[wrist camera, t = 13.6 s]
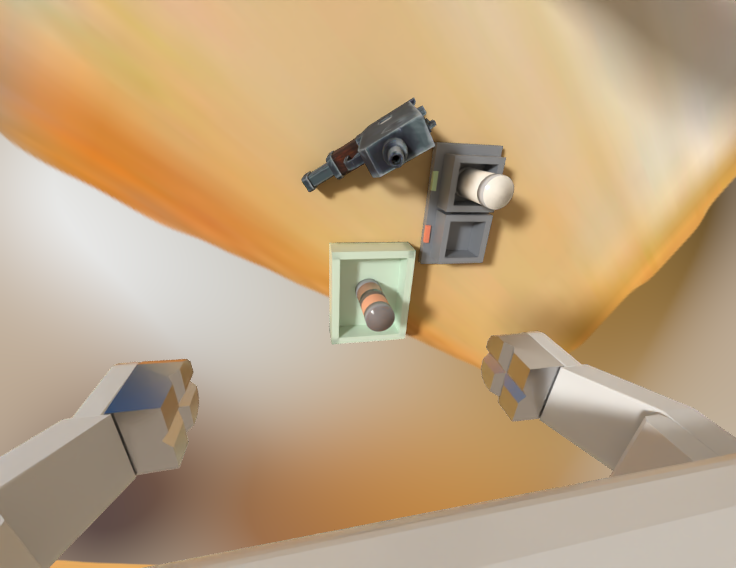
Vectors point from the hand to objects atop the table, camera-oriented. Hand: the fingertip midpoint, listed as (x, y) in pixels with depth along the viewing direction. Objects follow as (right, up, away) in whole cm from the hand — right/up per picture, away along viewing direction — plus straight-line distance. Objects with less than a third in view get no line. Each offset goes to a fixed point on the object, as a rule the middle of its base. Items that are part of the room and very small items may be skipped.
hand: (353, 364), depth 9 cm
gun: (-1, +19, +30) cm, 35 cm away
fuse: (+13, +16, +33) cm, 39 cm away
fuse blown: (0, +1, +38) cm, 38 cm away
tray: (0, +2, +38) cm, 38 cm away
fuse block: (+13, +13, +35) cm, 40 cm away
